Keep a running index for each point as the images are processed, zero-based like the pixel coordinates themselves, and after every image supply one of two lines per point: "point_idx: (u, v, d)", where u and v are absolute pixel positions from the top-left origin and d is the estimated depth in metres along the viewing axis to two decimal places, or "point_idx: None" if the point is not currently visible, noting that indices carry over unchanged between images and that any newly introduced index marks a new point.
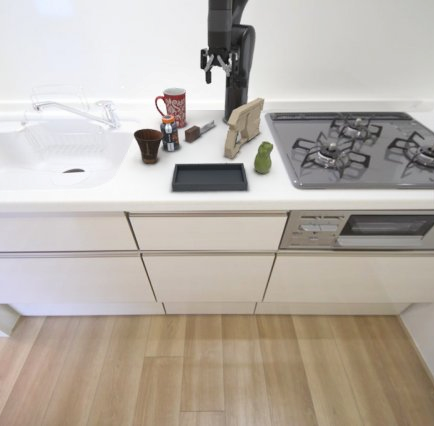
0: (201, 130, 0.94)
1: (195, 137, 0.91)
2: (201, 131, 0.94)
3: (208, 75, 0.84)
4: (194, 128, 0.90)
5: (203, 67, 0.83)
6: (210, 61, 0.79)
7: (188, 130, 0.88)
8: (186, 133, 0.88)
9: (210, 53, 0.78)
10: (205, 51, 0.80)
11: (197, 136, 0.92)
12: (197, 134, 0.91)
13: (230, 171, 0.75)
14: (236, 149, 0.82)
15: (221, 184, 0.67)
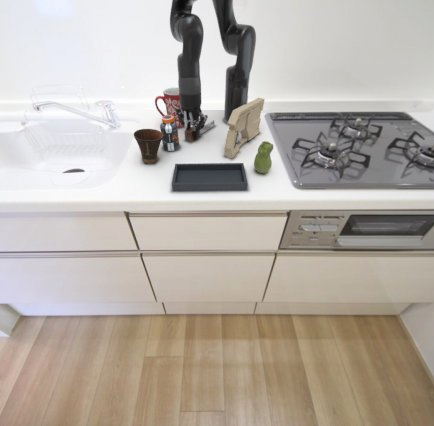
0: (201, 130, 0.94)
1: None
2: (201, 131, 0.94)
3: None
4: None
5: (183, 123, 0.89)
6: (185, 117, 0.86)
7: (188, 130, 0.88)
8: (186, 133, 0.88)
9: (183, 109, 0.85)
10: (179, 109, 0.87)
11: None
12: None
13: (230, 171, 0.75)
14: (236, 149, 0.82)
15: (221, 184, 0.67)
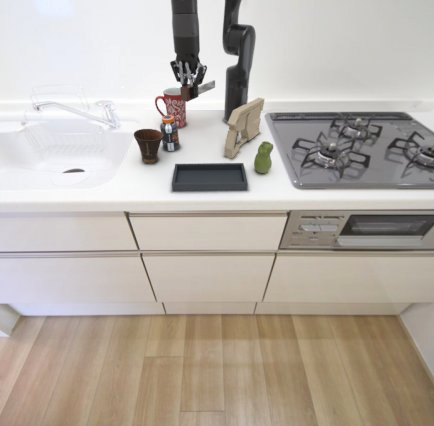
0: (200, 89, 0.81)
1: None
2: (200, 91, 0.82)
3: None
4: None
5: (179, 78, 0.77)
6: (181, 70, 0.73)
7: (184, 86, 0.76)
8: (182, 90, 0.76)
9: (178, 60, 0.73)
10: (174, 61, 0.75)
11: None
12: None
13: (230, 171, 0.75)
14: (236, 149, 0.82)
15: (221, 184, 0.67)
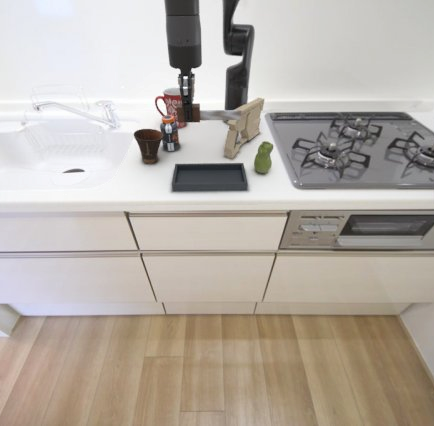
0: (208, 115, 0.63)
1: None
2: (208, 116, 0.63)
3: None
4: None
5: None
6: None
7: (180, 105, 0.62)
8: None
9: None
10: None
11: (193, 119, 0.63)
12: (193, 116, 0.62)
13: (230, 171, 0.75)
14: (236, 149, 0.82)
15: (221, 184, 0.67)
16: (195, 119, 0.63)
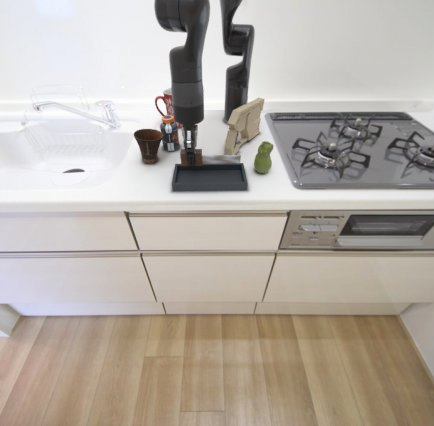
0: (209, 159, 0.67)
1: None
2: (209, 160, 0.68)
3: None
4: None
5: None
6: None
7: (184, 150, 0.66)
8: None
9: None
10: None
11: (196, 163, 0.67)
12: (196, 161, 0.67)
13: (230, 171, 0.75)
14: (236, 149, 0.82)
15: (221, 184, 0.67)
16: (197, 163, 0.67)
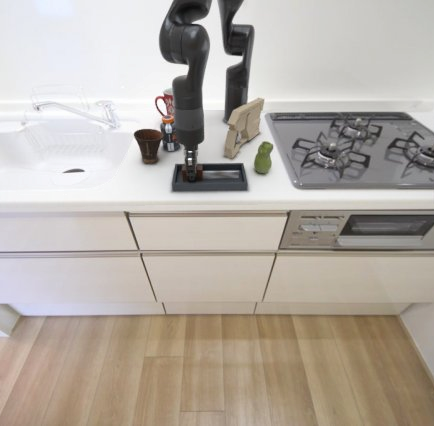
0: (209, 174, 0.71)
1: None
2: (209, 175, 0.71)
3: None
4: None
5: None
6: None
7: (185, 167, 0.70)
8: None
9: None
10: None
11: (196, 178, 0.71)
12: (197, 176, 0.70)
13: None
14: (236, 149, 0.82)
15: (221, 184, 0.67)
16: (198, 178, 0.71)
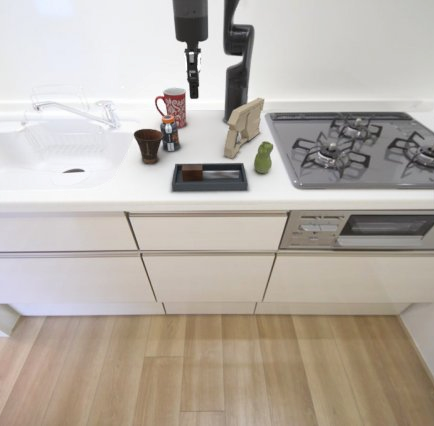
0: (209, 174, 0.71)
1: (193, 178, 0.71)
2: (209, 175, 0.71)
3: (192, 76, 0.64)
4: (194, 168, 0.69)
5: None
6: None
7: (185, 167, 0.70)
8: None
9: None
10: None
11: (196, 178, 0.71)
12: (197, 176, 0.70)
13: None
14: (236, 149, 0.82)
15: (221, 184, 0.67)
16: (198, 178, 0.71)
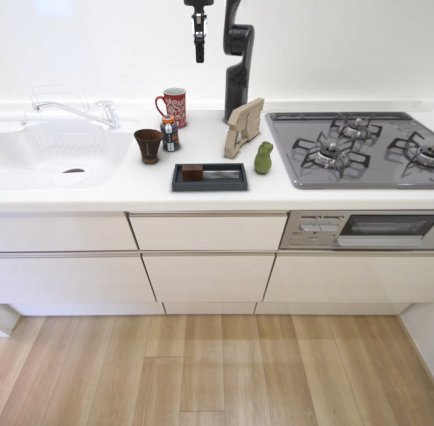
0: (209, 174, 0.71)
1: (193, 178, 0.71)
2: (209, 175, 0.71)
3: None
4: (194, 168, 0.69)
5: None
6: None
7: (185, 167, 0.70)
8: None
9: None
10: None
11: (196, 178, 0.71)
12: (197, 176, 0.70)
13: None
14: (236, 149, 0.82)
15: (221, 184, 0.67)
16: (198, 178, 0.71)
